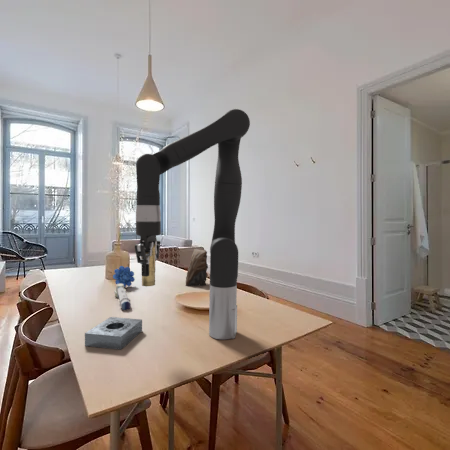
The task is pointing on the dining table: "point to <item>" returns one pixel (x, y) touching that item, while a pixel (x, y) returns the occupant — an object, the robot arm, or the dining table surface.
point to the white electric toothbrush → (122, 296)
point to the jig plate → (113, 333)
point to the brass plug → (150, 271)
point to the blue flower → (123, 276)
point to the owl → (197, 269)
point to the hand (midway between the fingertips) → (148, 274)
